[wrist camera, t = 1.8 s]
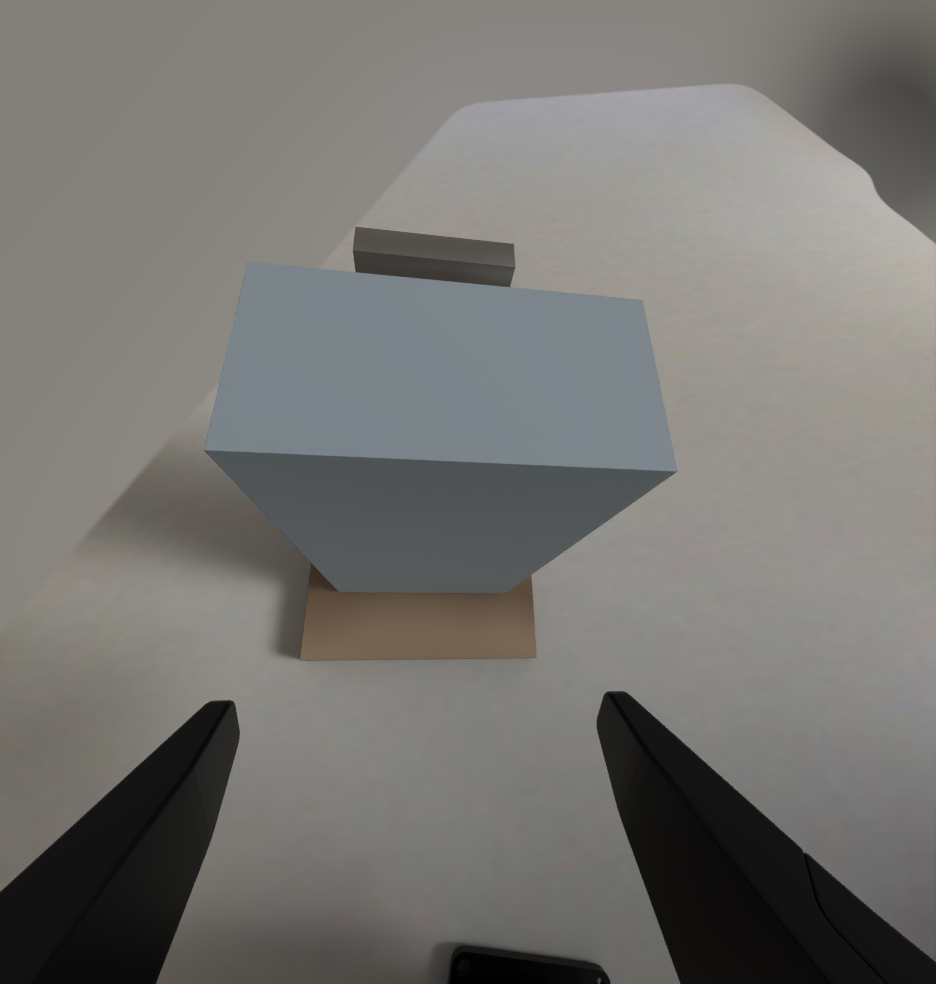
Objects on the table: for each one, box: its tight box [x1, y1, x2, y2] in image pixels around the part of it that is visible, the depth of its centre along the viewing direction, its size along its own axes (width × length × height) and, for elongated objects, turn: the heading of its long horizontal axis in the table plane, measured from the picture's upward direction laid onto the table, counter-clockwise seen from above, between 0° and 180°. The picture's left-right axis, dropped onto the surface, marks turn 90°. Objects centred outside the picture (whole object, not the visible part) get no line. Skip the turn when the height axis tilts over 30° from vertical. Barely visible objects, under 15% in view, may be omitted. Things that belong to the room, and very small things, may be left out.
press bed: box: [300, 227, 537, 661], centre depth 22 cm, size 20×11×7 cm, turn 1°
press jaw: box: [204, 262, 677, 593], centre depth 15 cm, size 4×8×15 cm, turn 91°
